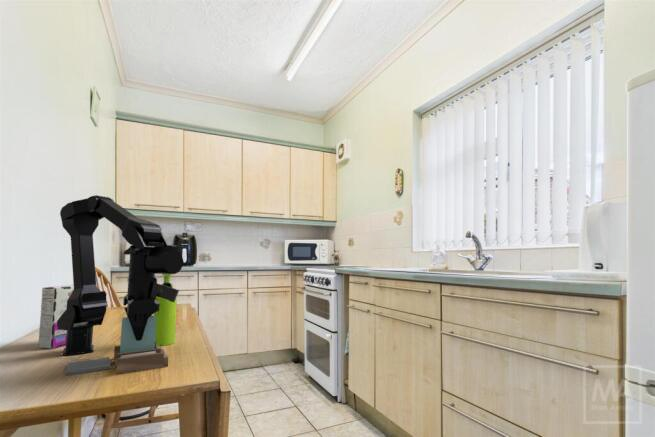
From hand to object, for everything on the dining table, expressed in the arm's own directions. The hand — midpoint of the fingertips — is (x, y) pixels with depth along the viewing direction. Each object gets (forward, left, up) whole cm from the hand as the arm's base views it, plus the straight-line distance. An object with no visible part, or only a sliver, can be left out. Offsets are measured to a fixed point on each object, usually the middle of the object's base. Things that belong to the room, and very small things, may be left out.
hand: (138, 338), depth 84 cm
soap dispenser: (-15, +8, -5) cm, 18 cm away
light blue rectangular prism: (0, 0, -5) cm, 5 cm away
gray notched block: (+6, 0, -5) cm, 8 cm away
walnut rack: (+2, 0, -5) cm, 5 cm away
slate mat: (0, -9, -5) cm, 11 cm away
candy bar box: (-29, -16, -5) cm, 34 cm away
